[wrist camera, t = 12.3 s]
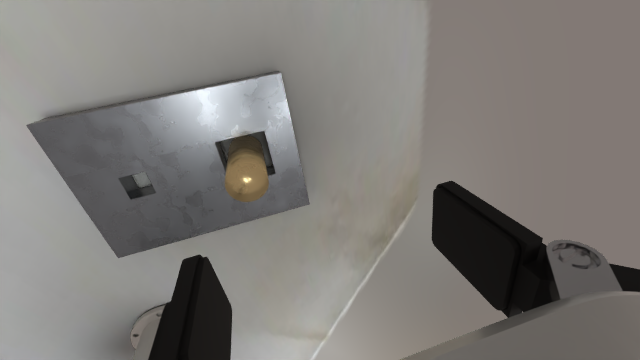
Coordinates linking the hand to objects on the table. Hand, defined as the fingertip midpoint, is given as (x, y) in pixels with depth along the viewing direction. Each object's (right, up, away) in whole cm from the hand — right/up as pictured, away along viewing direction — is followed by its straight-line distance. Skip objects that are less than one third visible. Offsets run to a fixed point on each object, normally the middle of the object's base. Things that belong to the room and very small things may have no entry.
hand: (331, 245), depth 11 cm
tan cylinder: (-10, +6, +26) cm, 29 cm away
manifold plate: (-17, +5, +25) cm, 30 cm away
